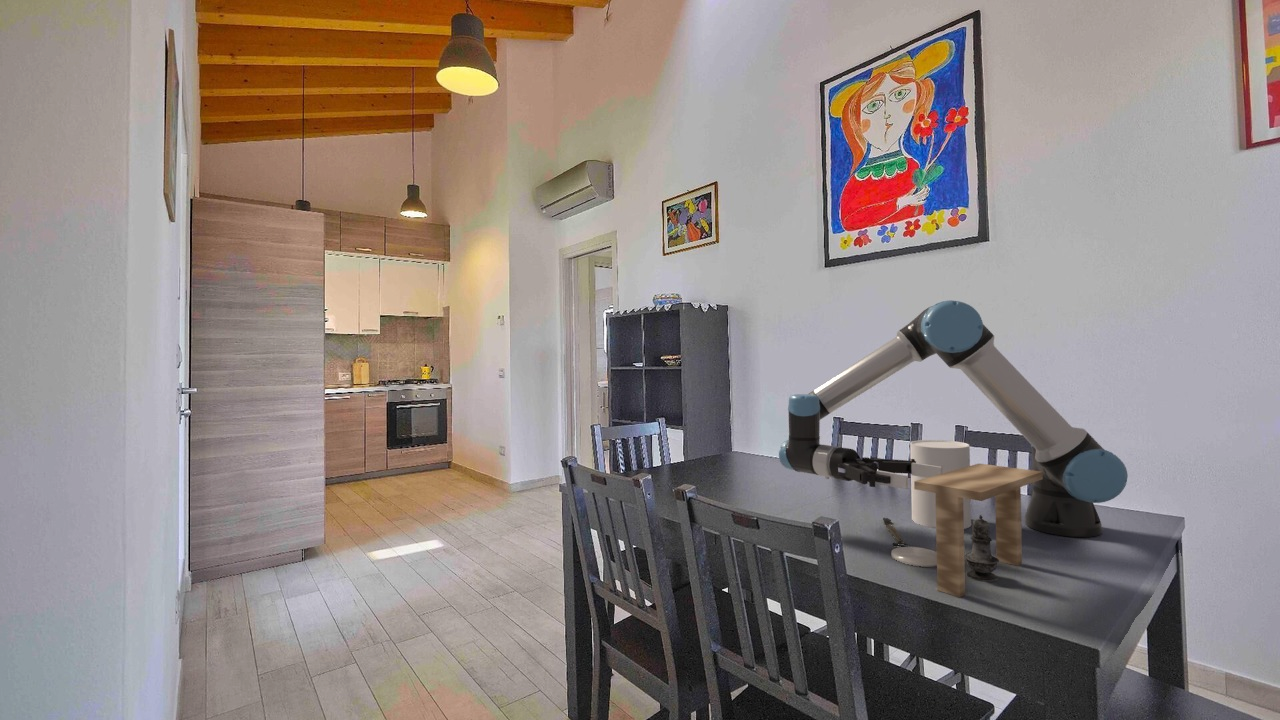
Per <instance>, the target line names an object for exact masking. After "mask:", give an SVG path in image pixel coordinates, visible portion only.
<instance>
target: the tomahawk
mask: <svg viewBox="0 0 1280 720" xmlns="http://www.w3.org/2000/svg"><path fill="white" fill-rule="evenodd" d="M882 520H883V524H884V526H885V525H886V526H885V527H886V529H887V528H888V529H889V530H888V529H887V530H888V531H889V533H890V532H891V533H892V534H891V533H890V534H891V536H892V537H893V536H894V537H895V538H894V537H893V538H894V540H895V541H896V540H897V541H898V542H897V541H896V542H892V544H891V545H892V547H894V546H901V547H908V546H909V545H908V544H909V543H908V544H907V543H905V542H906V541H903V538H902V537H901V535H900V534H899V533H898V531H897V530H896V529H895V527H894V526H893V525H892V519H890V518H888V517H886V518H885V517H883V518H882ZM891 525H892V526H891ZM898 544H904V545H898Z"/></svg>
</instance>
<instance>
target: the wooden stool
mask: <svg viewBox="0 0 1280 720" xmlns="http://www.w3.org/2000/svg"><path fill="white" fill-rule="evenodd" d="M1042 479H1043V472H1041V471H1034V470H1032V469H1025V468H1019V467H1018V468H1017V467H1009V466H1001V465H993V464H986V463H985V464H984V463H975V464H972V465H970V466H968V467H964V468H961V469H957V470H954V471H950V472H946V473H943V474H939V475H935V476H932V477H928V478H925V479H921V480H917V481H914V489H916V490H922V491H927V492H933V493H935V495H936V528H935V531H936V532H935V533H936V535H935V536H936V537H935V538H936V541H935V543H936V552H937V566H936V573H937V574H936V579H937V580H936V582H937V583H936V587H937V591H938V592H942V593H945V594H948V595H951V596H954V597H957V598H961V597H963V596H965V595H966V571H965V570H966V569H965V568H966V567H965V566H966V565H965V564H966V563H965V557H964V556H965V529H964V511H963V498H967V499H971V500H972V501H977V502H978V501H979V502H983V501H986V500H989V499H990V498H991V499H992V498H995V499H994V501H995V508H994V509H995V548H996V549H995V551H996V552H995V553H996V556H995V557H996V558H998V559H999V563H1003V564H1004V563H1005V564H1009V565H1013V566H1017V567H1019V566H1021V565H1022V564H1023V552H1022V551H1023V548H1022V547H1023V544H1022V543H1023V542H1022V541H1023V540H1022V537H1023V536H1022V498H1021V497H1022V493H1021V492H1022V491H1021V489H1022V487H1025V486H1027V485H1030V484H1033V482H1036V481H1039V480H1042Z"/></svg>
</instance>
